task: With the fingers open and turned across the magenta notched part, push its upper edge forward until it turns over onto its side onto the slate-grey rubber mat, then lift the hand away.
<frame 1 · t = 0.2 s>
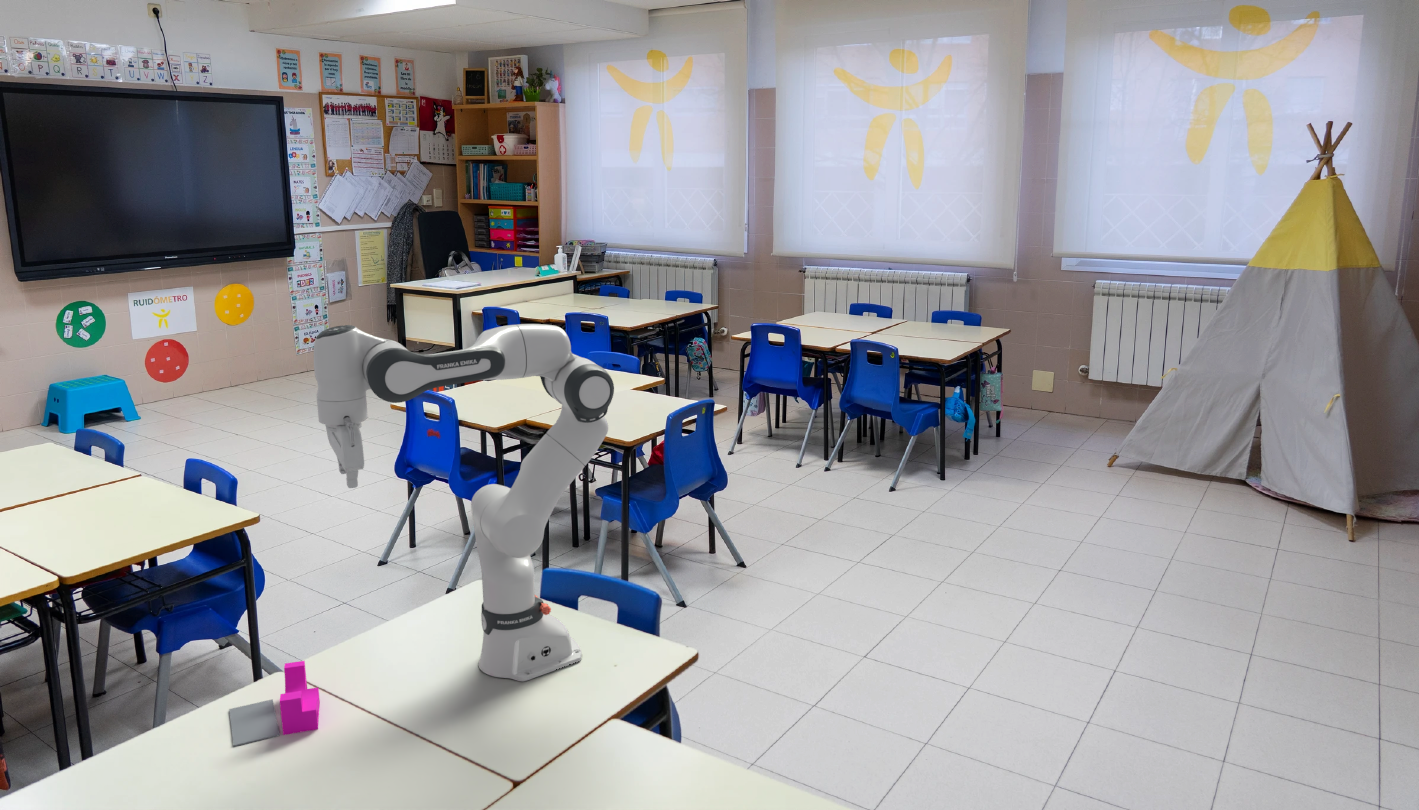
hand: (348, 479, 189), 47 cm above the table, tool pointing down, fingers open, 8 cm apart
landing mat: (254, 722, 191), on the table
magenta notched part: (302, 713, 195), on the table
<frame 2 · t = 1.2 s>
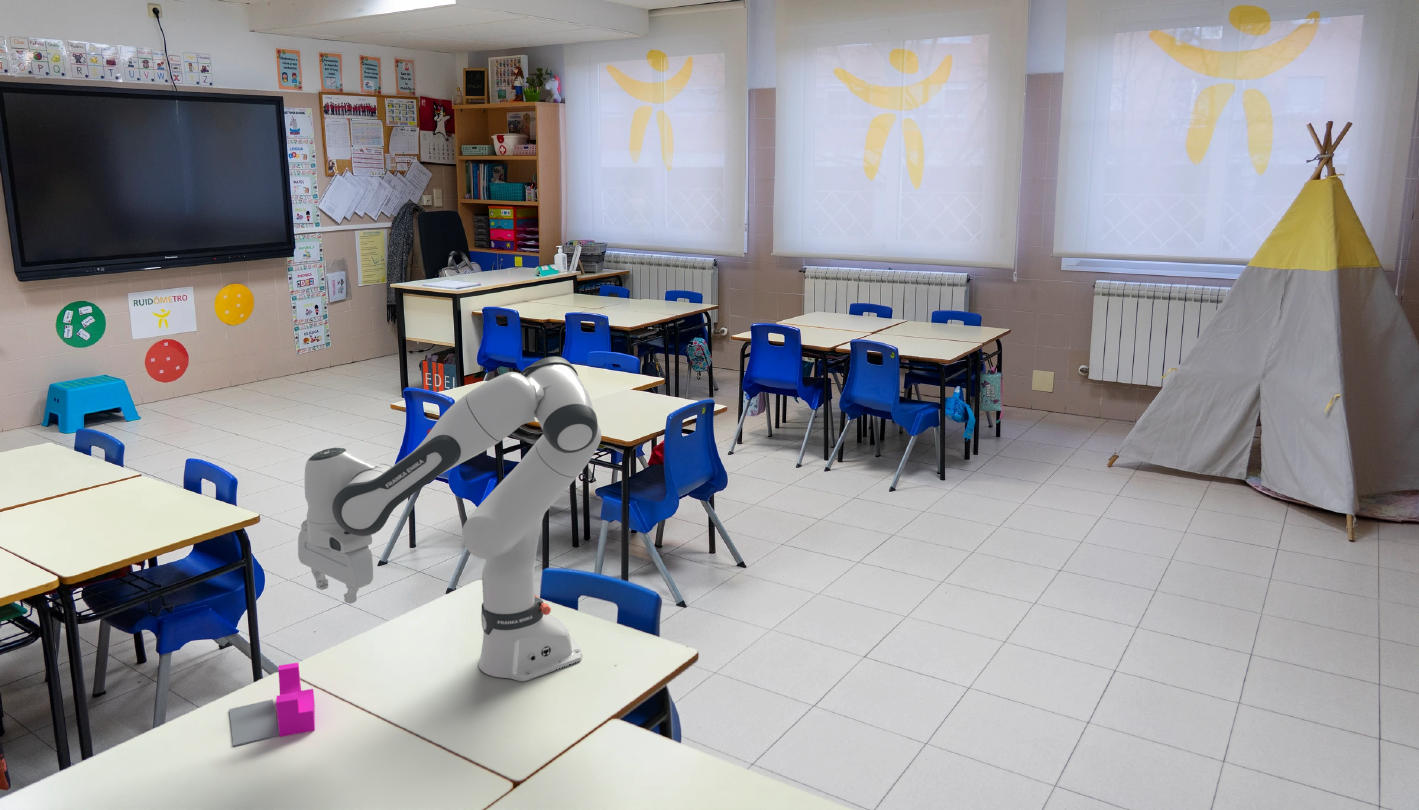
hand: (336, 595, 193), 24 cm above the table, tool pointing down, fingers open, 8 cm apart
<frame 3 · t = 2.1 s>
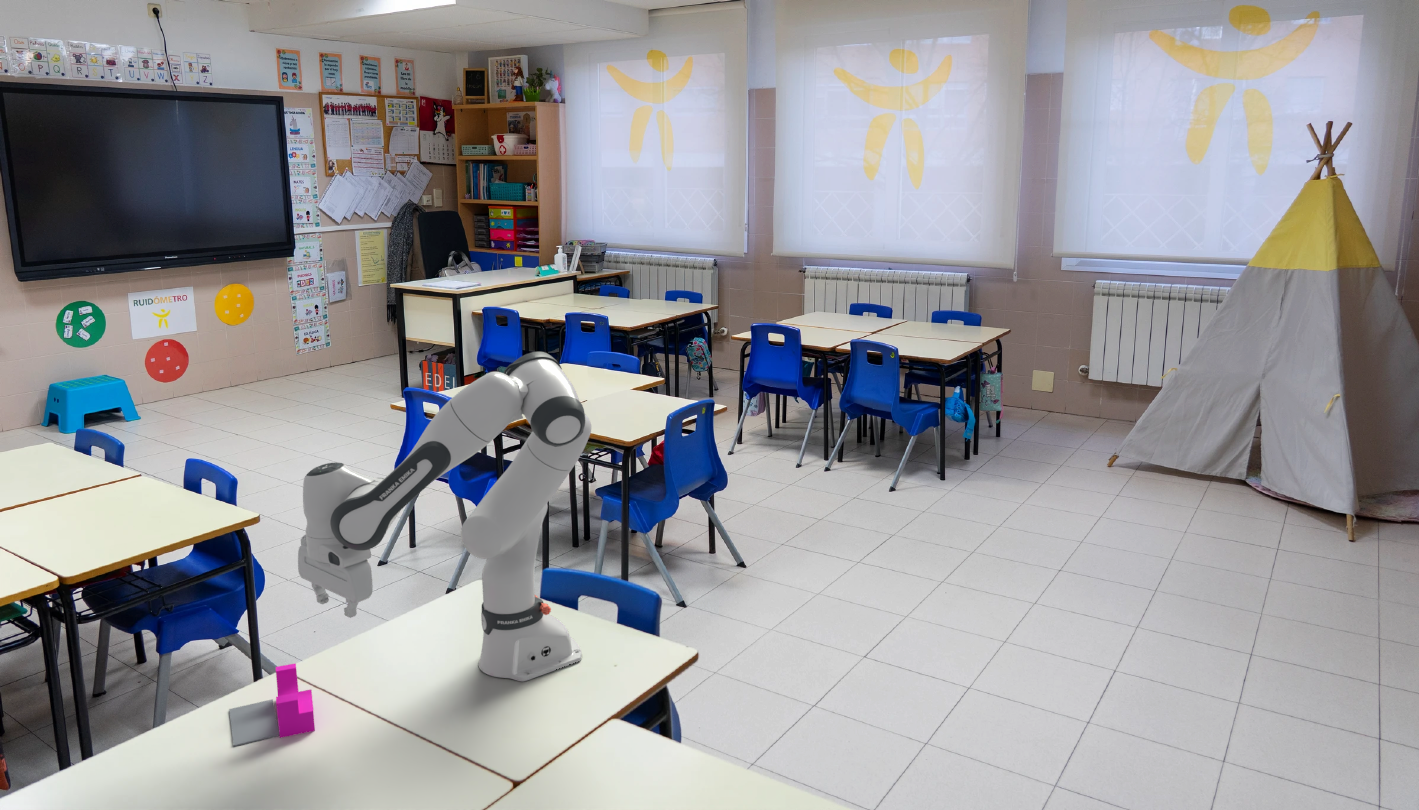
hand: (336, 609, 194), 21 cm above the table, tool pointing down, fingers open, 8 cm apart
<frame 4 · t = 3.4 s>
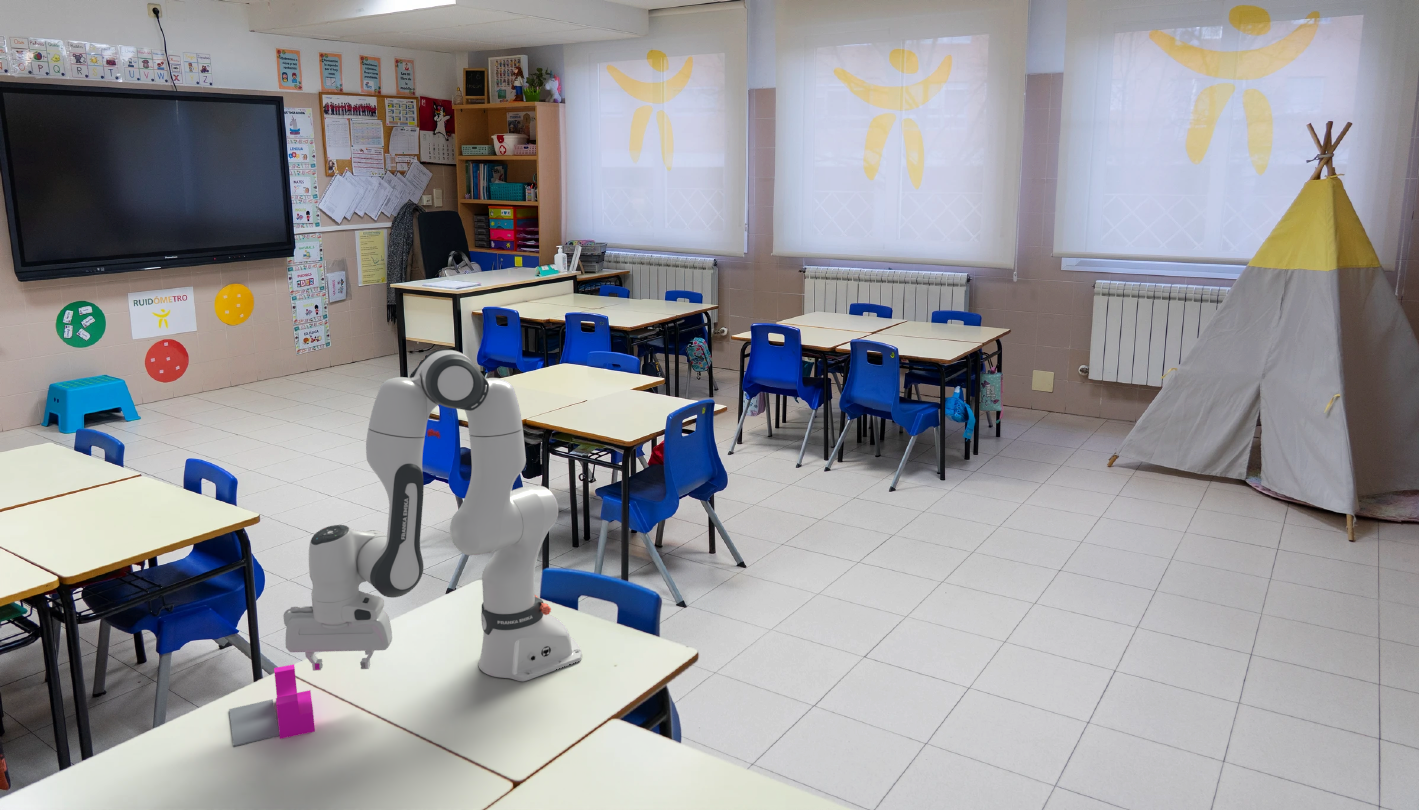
hand: (341, 668, 197), 7 cm above the table, tool pointing down, fingers open, 8 cm apart
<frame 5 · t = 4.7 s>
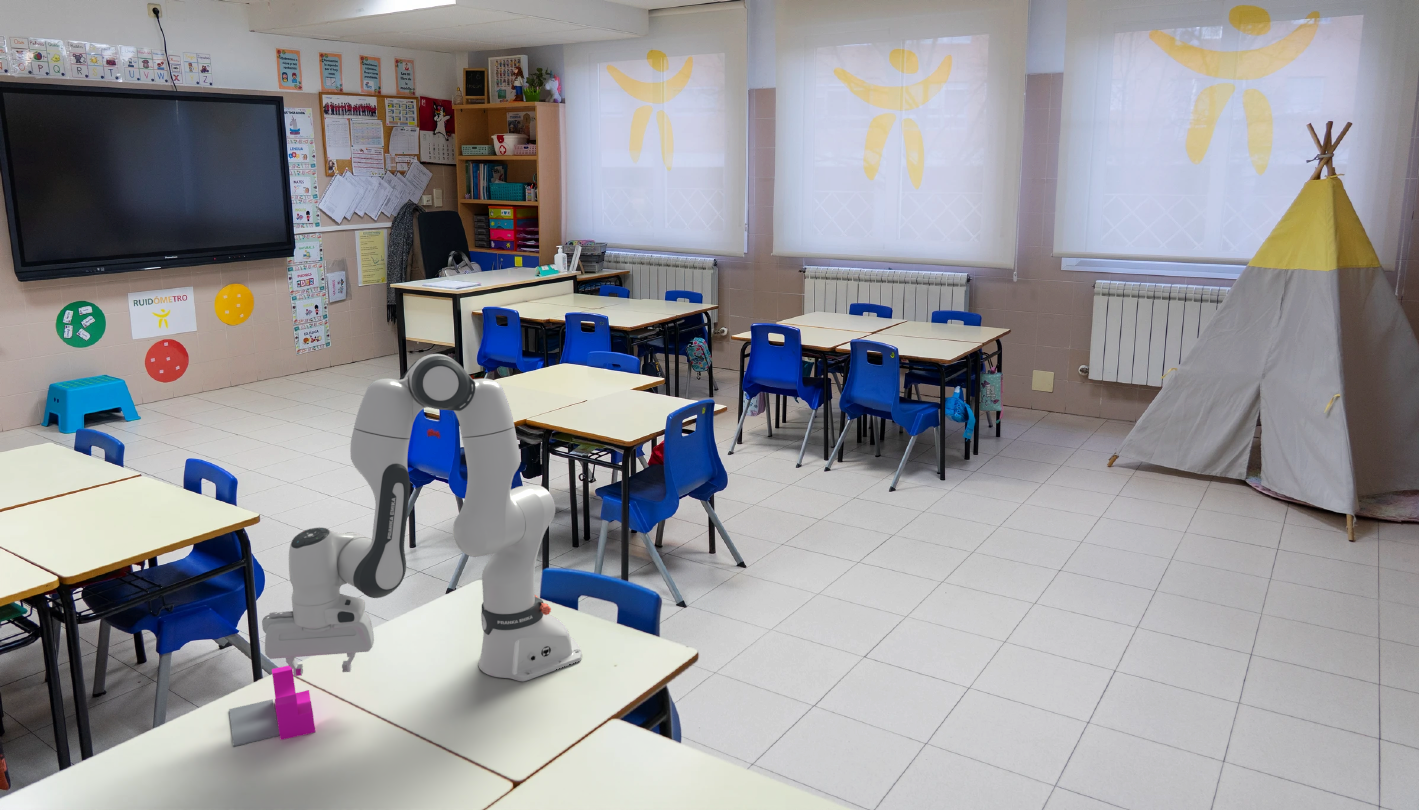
hand: (322, 672, 196), 7 cm above the table, tool pointing down, fingers open, 8 cm apart
magenta notched part: (295, 717, 193), on the table, touching gripper, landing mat
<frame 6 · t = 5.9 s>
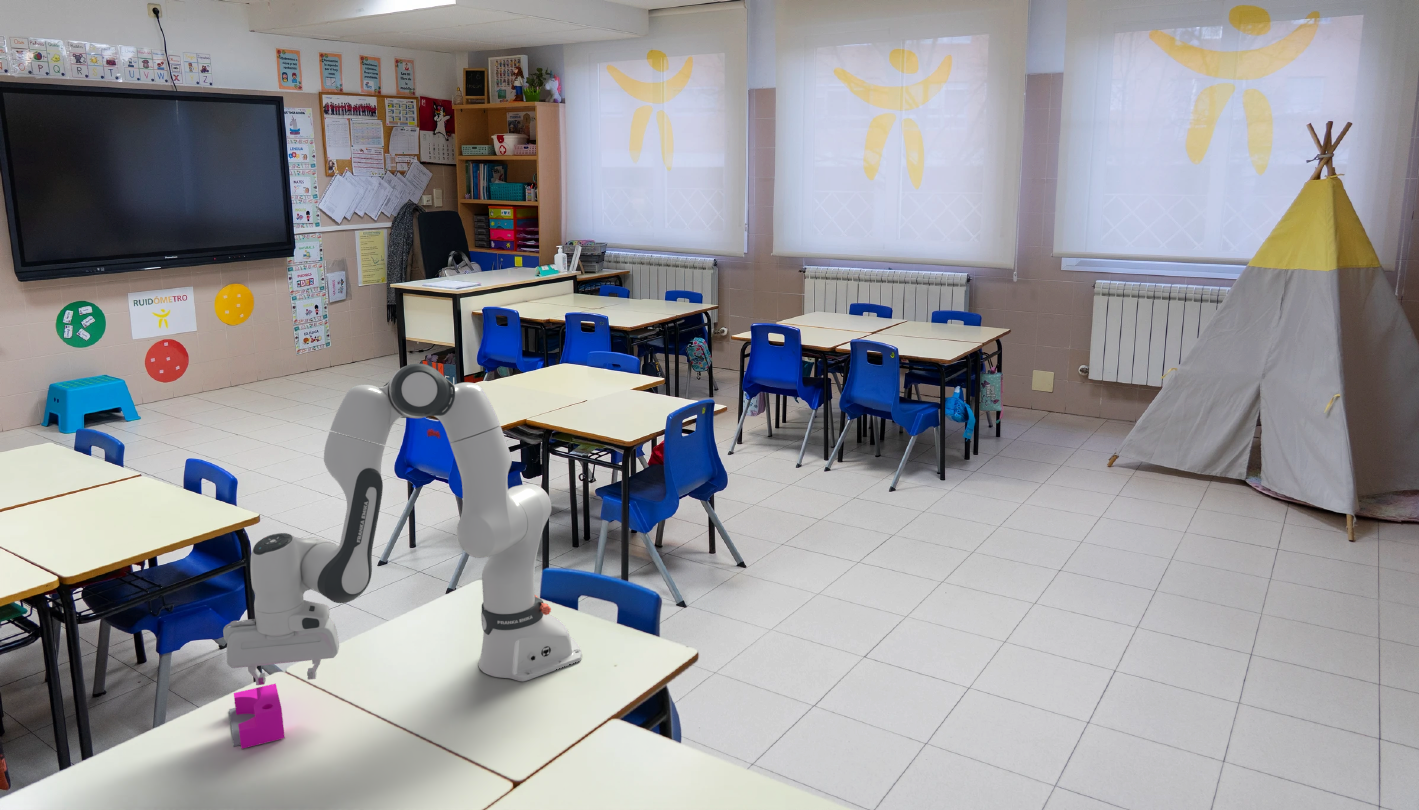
hand: (286, 680, 192), 7 cm above the table, tool pointing down, fingers open, 8 cm apart
magenta notched part: (279, 704, 191), point 3 cm above the table, touching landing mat
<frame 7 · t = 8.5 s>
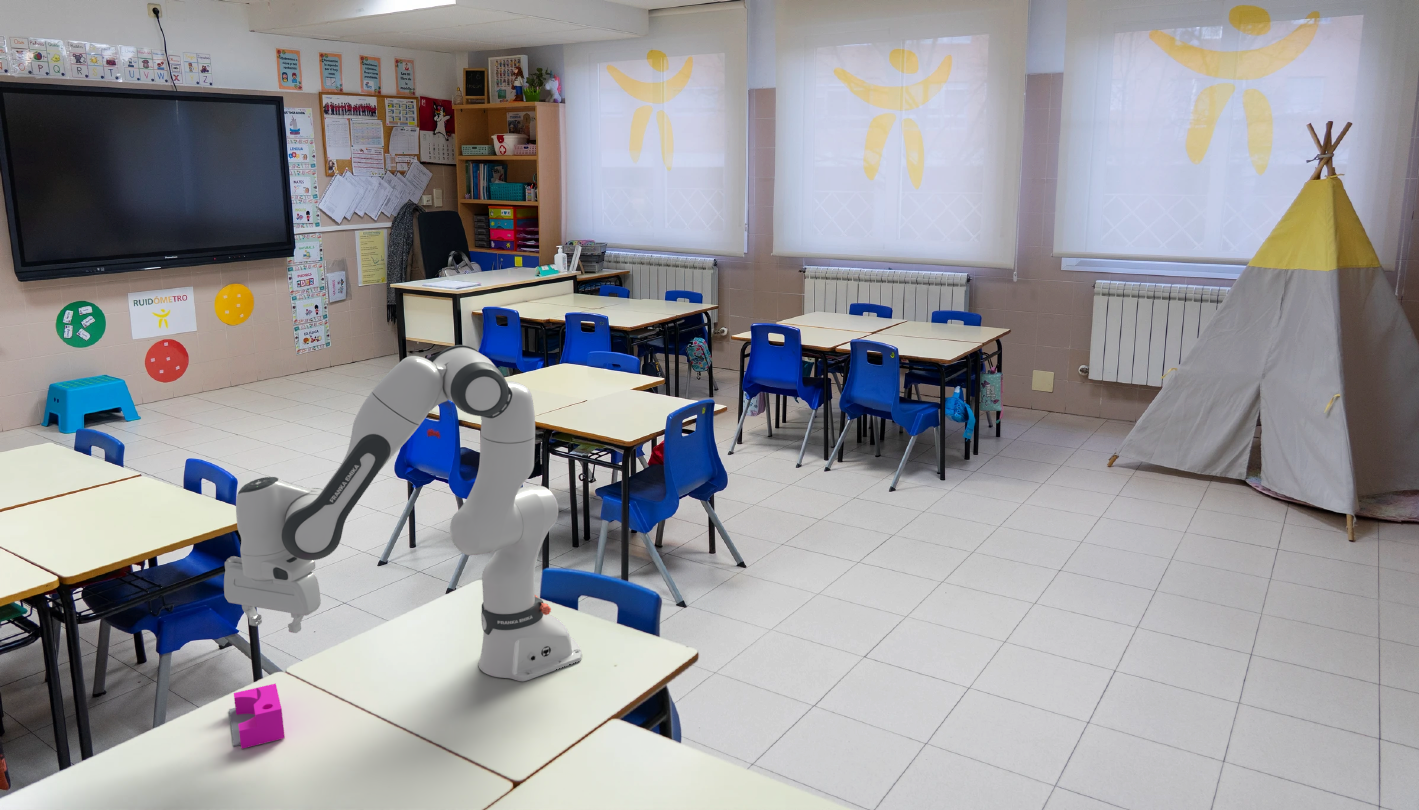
hand: (275, 628, 189), 19 cm above the table, tool pointing down, fingers open, 8 cm apart
nothing on the table moved.
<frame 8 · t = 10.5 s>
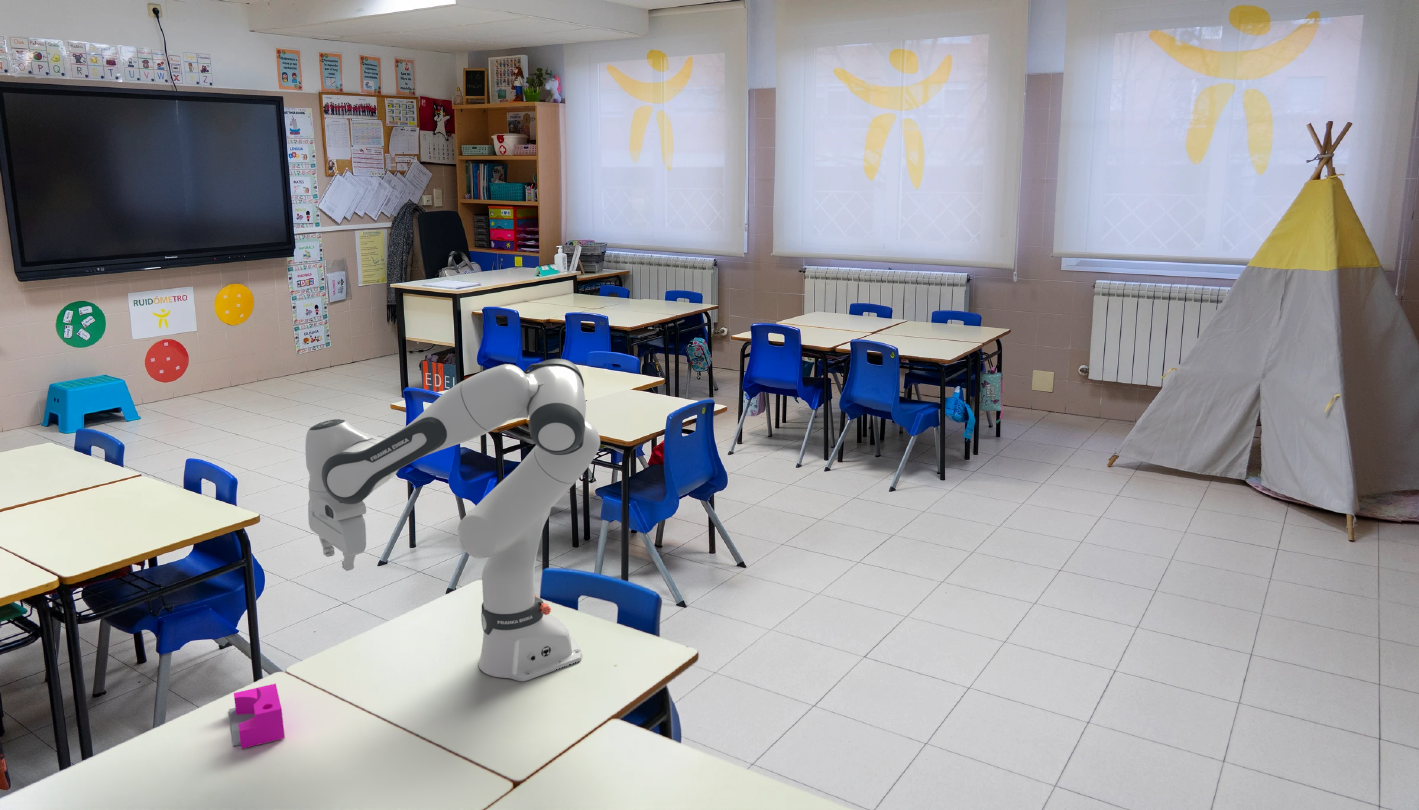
hand: (338, 562, 200), 27 cm above the table, tool pointing down, fingers open, 8 cm apart
nothing on the table moved.
at the end: magenta notched part tilted 90°; magenta notched part touching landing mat; the gripper is holding nothing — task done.
